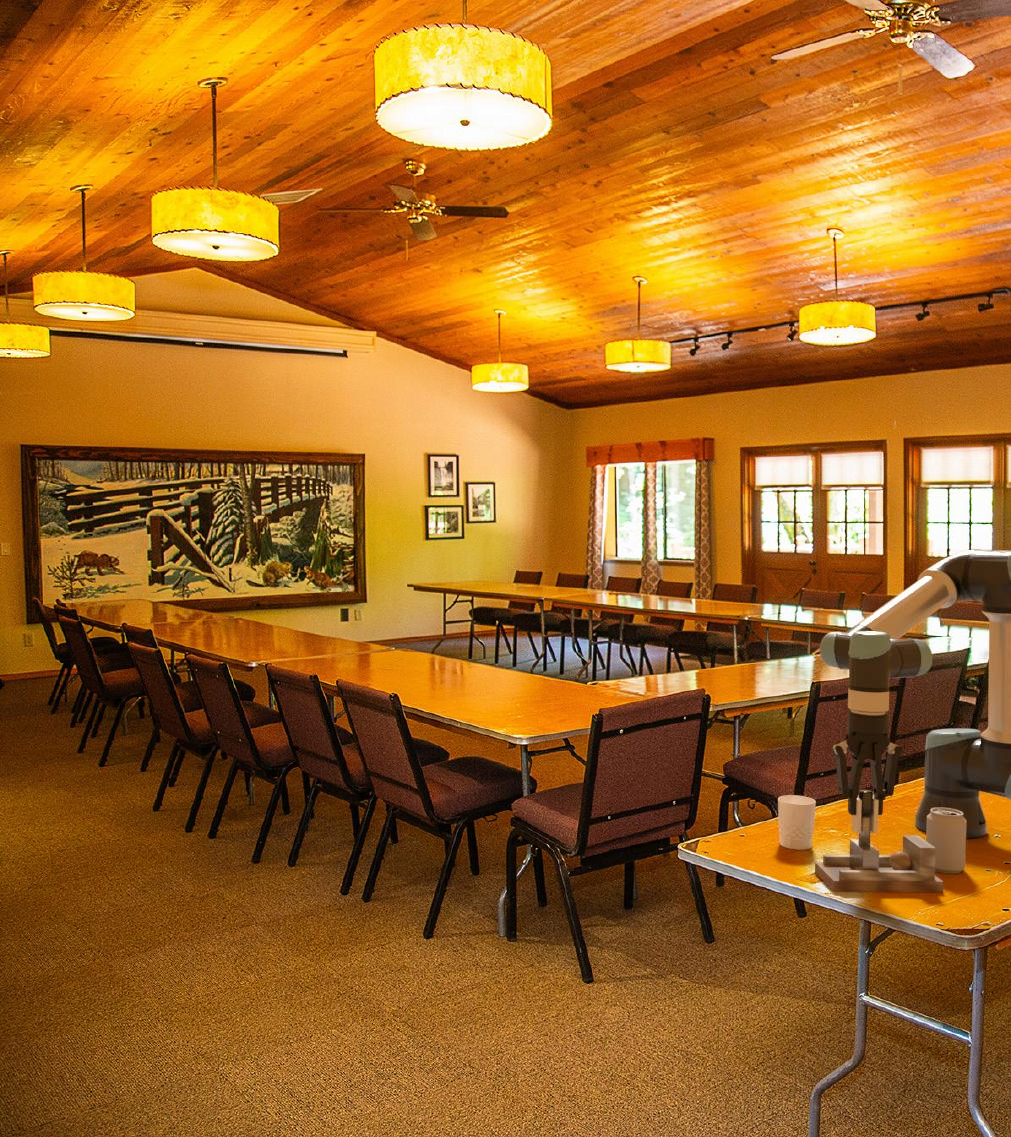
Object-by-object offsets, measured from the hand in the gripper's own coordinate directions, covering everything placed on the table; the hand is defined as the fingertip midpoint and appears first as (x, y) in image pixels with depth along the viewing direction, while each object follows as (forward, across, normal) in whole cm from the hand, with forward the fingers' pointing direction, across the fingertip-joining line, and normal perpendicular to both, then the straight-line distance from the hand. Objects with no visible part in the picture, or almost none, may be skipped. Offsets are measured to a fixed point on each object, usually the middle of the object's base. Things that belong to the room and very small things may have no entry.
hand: (864, 830), depth 202 cm
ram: (+8, 0, 0) cm, 8 cm away
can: (+10, -20, -8) cm, 24 cm away
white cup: (+10, +6, -23) cm, 26 cm away
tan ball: (+8, -7, 0) cm, 11 cm away
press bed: (+10, -3, 0) cm, 10 cm away
